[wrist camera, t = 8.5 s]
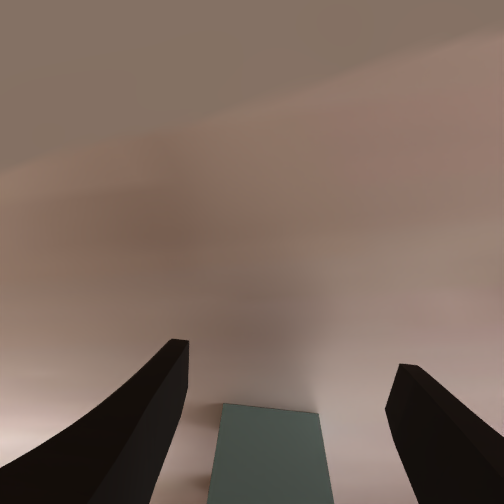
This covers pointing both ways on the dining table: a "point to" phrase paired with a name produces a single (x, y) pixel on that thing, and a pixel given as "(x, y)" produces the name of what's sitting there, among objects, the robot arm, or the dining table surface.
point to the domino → (269, 458)
